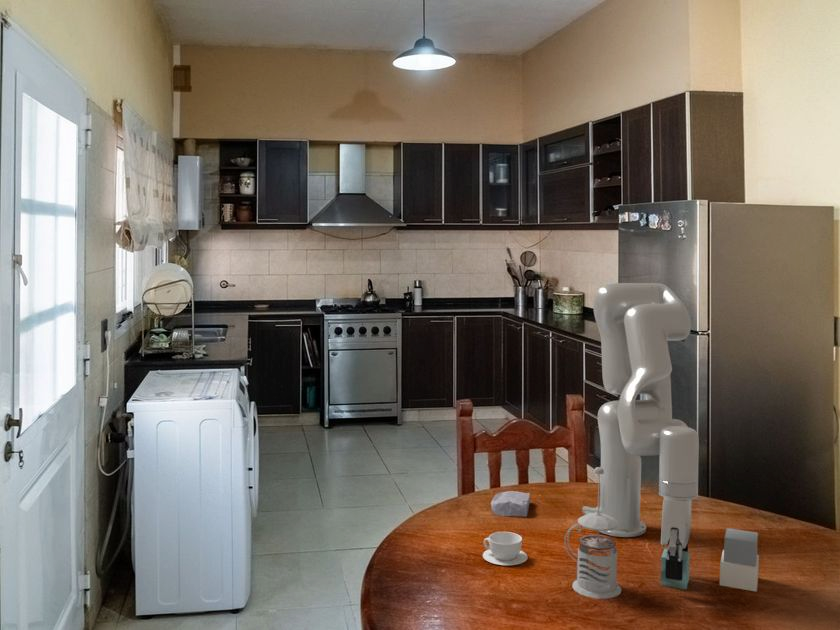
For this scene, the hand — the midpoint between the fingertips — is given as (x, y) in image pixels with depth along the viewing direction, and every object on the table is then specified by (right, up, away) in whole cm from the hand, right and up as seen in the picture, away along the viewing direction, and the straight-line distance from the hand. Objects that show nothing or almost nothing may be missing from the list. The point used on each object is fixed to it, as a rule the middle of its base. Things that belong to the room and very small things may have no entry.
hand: (676, 570), depth 159 cm
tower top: (+13, +2, +1) cm, 14 cm away
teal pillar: (0, -3, +1) cm, 3 cm away
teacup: (-34, -2, +14) cm, 36 cm away
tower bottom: (+13, -3, +1) cm, 14 cm away
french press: (-18, -3, -1) cm, 18 cm away
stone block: (-29, +1, +45) cm, 54 cm away
